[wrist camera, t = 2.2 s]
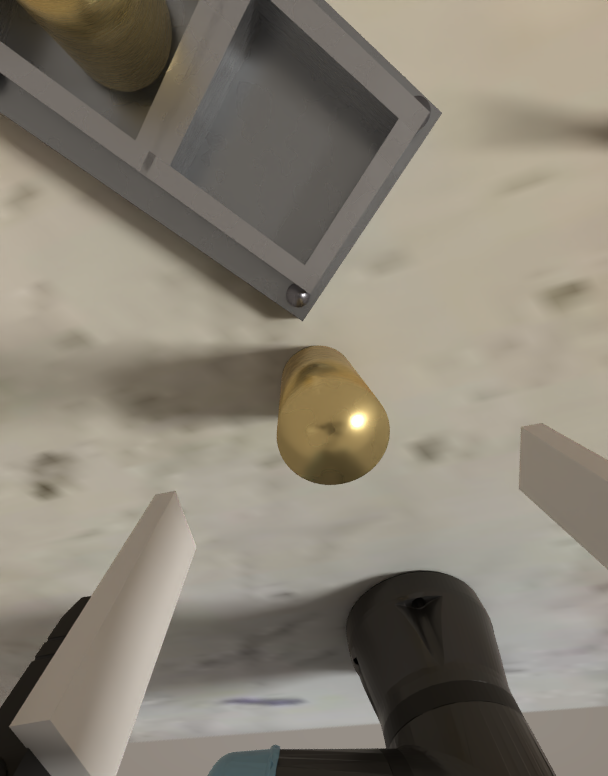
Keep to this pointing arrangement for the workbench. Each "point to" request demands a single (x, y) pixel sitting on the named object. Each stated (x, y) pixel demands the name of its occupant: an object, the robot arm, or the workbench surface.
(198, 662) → the workbench surface
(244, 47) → the housing
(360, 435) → the sleeve
